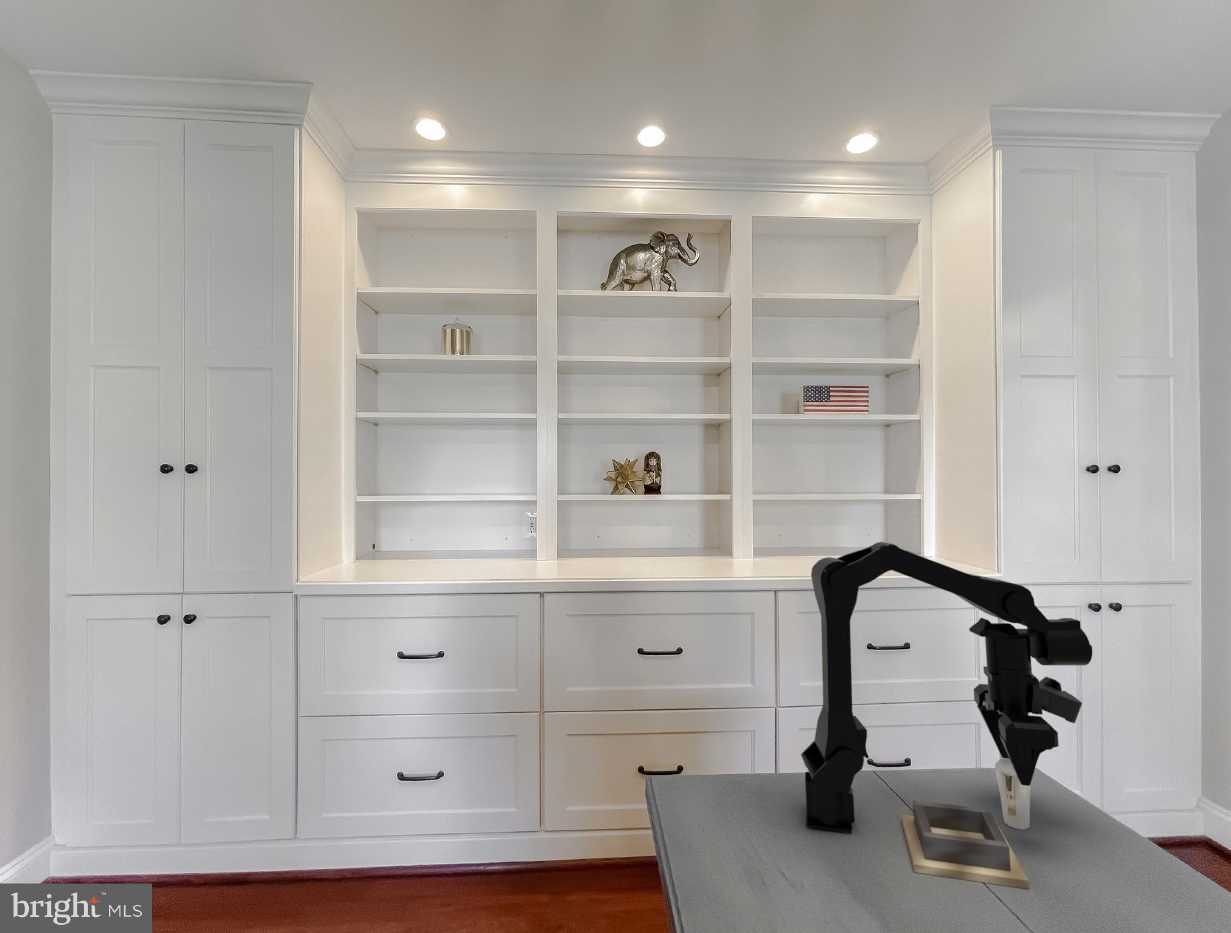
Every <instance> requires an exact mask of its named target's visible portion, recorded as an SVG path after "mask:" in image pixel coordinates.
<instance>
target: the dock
mask: <svg viewBox="0 0 1231 933" xmlns="http://www.w3.org/2000/svg"><path fill="white" fill-rule="evenodd" d="M912 814H913V815H908V814H902V813H901V814H900V822H901V825H902V830H903V833H904V836H905V841H906V844H907V848H908V852H909V856H910V859H911V864H912V868H913V872H914V873H916V874H917V873H919V874H925V875H931V876H937V877H938V876H939V877H945V878H951V879H952V878H953V879H959V880H965V881H972V882H977V883H978V882H979V883H985V884H991V885H1000V886H1007V887H1013V888H1020V889H1026V890H1030V881H1029V879H1028V876H1027V875H1026V873H1025V871H1024V870H1023V868H1022V866H1021V864H1020V862H1019V860H1018V859H1017V857H1016V854H1015V853H1014V851H1013V849H1012V847H1011V846H1010V844H1009V842H1008V840H1007V838H1006V837H1005V835H1004V833H1003V831H1002V830H1001V828H1000V826H999V825H998V824H997V823H996V820H995V819H994V818H995V817H993V815H992V813H991V811H990V809H989V808H983V807H982V808H981V807H975V806H974V807H972V806H967V805H966V806H965V805H964V806H963V805H956V804H946V803H941V802H939V803H938V802H930V801H924V800H923V801H921V800H912Z"/></svg>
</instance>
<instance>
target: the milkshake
mask: <svg viewBox="0 0 1231 933" xmlns="http://www.w3.org/2000/svg"><path fill="white" fill-rule="evenodd" d="M994 769H995V775H996V779H997V785H998V788H999V789H998V790H999V794H1000V803H1001V810H1002V817H1003V823H1004V824H1005V825H1007V826H1008V827H1009V828H1013V829H1016V830H1024V831H1025V830H1027V829H1030V824H1031V822H1030V819H1031V818H1030V815H1031V813H1030V812H1031V811H1030V810H1031V788H1032V786H1031V784H1032V783H1031V784H1030V786H1025V785H1021V783H1020V781H1019V779H1018V777H1017V775H1016V772H1015V770H1014V768H1013V765H1012V763H1011V761H1010V759H1006V758H1000V759H998V761H996V762H995V764H994Z"/></svg>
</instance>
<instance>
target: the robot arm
mask: <svg viewBox="0 0 1231 933" xmlns="http://www.w3.org/2000/svg"><path fill="white" fill-rule="evenodd" d="M890 571H892V572H895V573H898V574H901V575H904V576H907V577H909V578H911V579H914V580H917V581H919V582H922V583H924V584H926V585H927V584H928V585H930V586H932V587H935V588H937V589H940V590H943V591H945V592H948V593H951V594H954V595H955V596H957V597H958V598H961V599H962V600H963V601H965V602H966V603H967V604H969V605H970V606H972V607H974V608H977V609H978V610H980V611H981V612H983V613H984V614H987V615H988V616H992V617H995V618H997V619H1000V620H1003V621H1004V622H997V623H996V622H995V623H994V622H991V621H990V620H988V619H986V618H984V617H980V618H978V620H977V621H976V623H974V624H973V625H971V626H970V627H969V628H968V629H969V632H970V633H973V634H974V635H977V636H978V637H982V638H984V642H985V655H986V656H985V657H986V666H983V674H984V675H985V676H986V677H987V683H985V684H984V683H979V684H978V685H976V687H974V688H973V700H974V702H975V703H976V704H977V705H976V707H977V709H978V711H979V713H980V715H981V718H982V719H983V721H984V723H985V725H986V727H987V729H988V732H989V734H990V735H991V738H992V739H993V742H994V744H995V746H996V748H997V750H998V752H999V754H1000V756H1001V759H1010V761H1011V763H1012V765H1013V768H1014V770H1015V772H1016V775H1017V777H1018V779H1019V781H1020V783H1021V785H1025V786H1030V784H1032V780H1033V778H1034V774H1035V769H1036V766H1037V763H1038V760H1039V757H1040V755H1041V754H1042V753H1043V752H1045V751H1049V750H1053V749H1054V748H1057V747H1059V746H1060V745H1059V733H1058V731H1057V730H1056V729H1055V728H1054V727H1053V726H1052V725H1051V724H1050V723H1049V722H1048V721H1047V720H1046V719H1044V718H1043V717H1042V715H1043V711H1044V712H1046V713H1049V714H1052V715H1055V716H1058V717H1060V718H1062V719H1064V720H1065V721H1066V722H1069V723H1072V724H1075V723H1076V721H1077V718H1078V716H1079V714H1080V710H1081V708H1082V705H1083V702H1082V701H1081V700H1079V699H1078V698H1077V697H1075V696H1074V695H1073V694H1070V693H1069V692H1068V691H1066V690H1063V689H1062V686H1061V685H1062V684H1061V683H1060V682H1059V681H1058V680H1057V679H1054V678H1052V677H1048V676H1045V677H1044V678H1042V679H1041V680H1039V678H1038V677H1037V676H1035V675H1034V674H1033V670H1032V669H1033V668H1032V658H1033V659H1034V660H1036V663H1038V664H1039V665H1041V666H1087V665H1089V664H1090V663H1091V661H1092V658H1093V646H1092V645H1091V644H1090V641H1089V638H1088V636H1087V634H1086V632H1085V631H1084V630H1083V629H1082V628H1081V621H1080V620H1078V619H1076V618H1071V617H1061V618H1058V619H1054V618H1053V619H1050V618H1047V617H1046V616H1045V615H1044V613H1043V612H1042V611H1041V610H1040V609H1039V607H1037V606H1036V603H1035V598H1034V596H1033V594H1032V591H1031V590H1030V589H1029V588H1027V587H1025V586H1024V585H1021V584H1017V583H1014V582H1010V581H1006V580H1001V579H999V578H993V577H987V576H982V575H977V574H971V573H966V572H964V571H961V570H959V569H956V568H954V567H951V566H949V565H945V564H943V563H940V562H937V561H934V560H931V559H929V558H927V557H924V556H922V555H918V554H916V553H913V552H911V551H908V550H905V549H902V548H900V547H899V546H897V545H896V544H894V543H889V542H885V541H879V542H878V541H877V542H875V543H874V544H873V545H870V546H867V547H866V548H865V547H864V548H862V549H859V550H855V551H852V552H850V553H847V554H844V555H842V556H839V557H830V556H828V557H823V558H820V559H819V560H818V561H817V562H816V563H815V564H814V565H813V566H812V568H811V573H810V576H811V582H812V587H813V591H814V592H813V593H814V597H815V599H816V604H817V607H818V609H819V613H820V618H821V619H820V621H821V623H820V624H821V625H820V626H821V630H820V631H821V664H822V665H821V667H822V668H821V669H822V670H821V672H822V675H821V676H822V706H821V710H820V713H819V715H818V718H817V722H816V728H815V733H814V734H815V735H814V740H813V741H812V742H811V743H810V744H809V745H808V746H807V748H805V749H804V750H803V752H801V753H800V754H801V755H800V756H801V758H802V761H803V763H804V766H805V768H806V770H807V771H805V774H804V775H805V776H804V777H805V778H804V779H805V780H804V782H805V783H804V784H805V786H804V787H805V803H806V804H805V807H806V808H805V827H807V828H810V829H818V830H825V831H832V832H839V833H849V834H851V833H852V832H853V825H852V824H854V823H855V802H854V800H855V799H854V791H853V790H854V789H853V788H852V785H853V782H854V779H855V776H856V775H857V774H858V773H859V772H860V771H862V769H863V768H864V763H865V759H869V758H870V757H869V755H868V753H867V747H866V746H867V745H866V744H867V740H868V739H867V738H868V730H867V728H866V727H865V726H864V725H863V723H862V722H861V721H860V719H859V718H858V717H857V716H856V715H854V713H853V684H852V683H853V681H852V680H853V678H852V677H853V676H852V643H851V641H852V640H851V637H852V636H851V620H852V619H851V618H852V616H853V613H854V610H855V608H856V605H857V600H858V595H859V594H858V593H859V587H862V586H865V585H867V584H869V583H871V582H873V581H874V580H875V579H877V578H879V577H880V576H882V575H884V574H885V573H888V572H890ZM1005 622H1006V623H1005ZM1013 624H1018V625H1021V626H1024V627H1026V628H1016V627H1015V626H1014V625H1013ZM1029 714H1033V715H1029Z"/></svg>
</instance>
